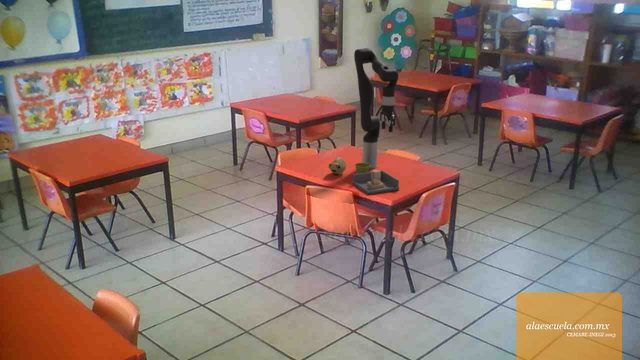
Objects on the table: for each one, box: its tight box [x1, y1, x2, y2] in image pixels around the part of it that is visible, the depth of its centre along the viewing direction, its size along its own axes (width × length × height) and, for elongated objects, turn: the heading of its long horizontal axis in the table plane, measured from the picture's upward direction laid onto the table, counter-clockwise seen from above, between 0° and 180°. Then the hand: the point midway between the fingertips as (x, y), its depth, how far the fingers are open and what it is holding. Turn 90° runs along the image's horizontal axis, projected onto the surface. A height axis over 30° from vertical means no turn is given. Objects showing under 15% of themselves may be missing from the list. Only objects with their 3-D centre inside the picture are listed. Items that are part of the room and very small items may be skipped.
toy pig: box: [328, 156, 347, 176], centre depth 371 cm, size 10×12×11 cm
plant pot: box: [354, 162, 370, 174], centre depth 364 cm, size 9×9×9 cm
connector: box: [370, 169, 381, 185], centre depth 349 cm, size 4×4×9 cm
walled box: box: [352, 170, 400, 196], centre depth 349 cm, size 20×20×6 cm
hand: (386, 130), depth 356 cm, fingers open, 8 cm apart
